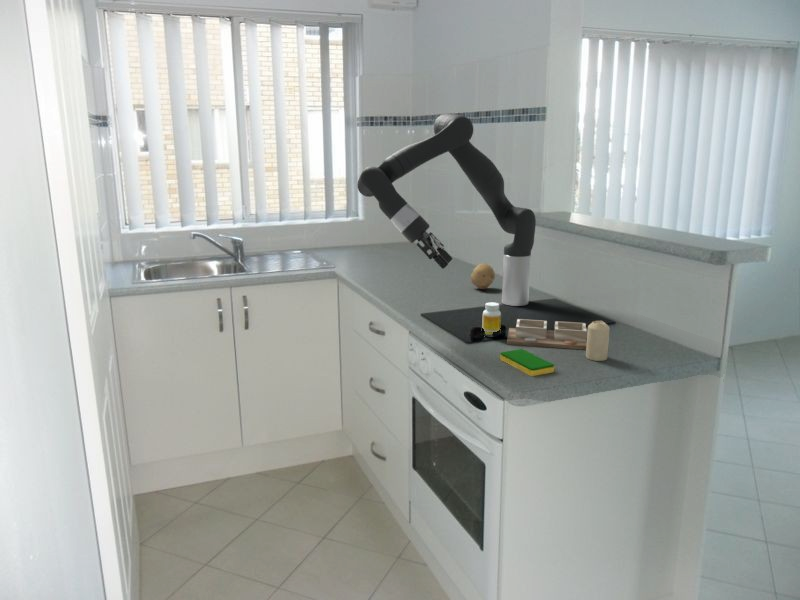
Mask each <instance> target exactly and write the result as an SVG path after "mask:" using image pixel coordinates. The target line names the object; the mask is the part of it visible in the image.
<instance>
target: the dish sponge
mask: <svg viewBox="0 0 800 600" xmlns="http://www.w3.org/2000/svg"><path fill="white" fill-rule="evenodd" d="M499 359H500V361H502V362H503V361H504V363H505V362H506V364H507V363H508V365H509V364H510V366H512V367H513V368H515V369H517V370H519V371H520V372H523V373H525V374H526V375H529V376H530V377H535V376H536V377H537V376H539V375H545V374H549V373H551V374H552V373H554V371H555V364H554V363H552V362H550V361H548V360H546V359H544V358H542V357H540V356H538V355H535V354H533V353H531V352H529V351H528V350H525V349H523V348H519V349H512V350H507V351H501V352H500V357H499Z"/></svg>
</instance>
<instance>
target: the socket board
mask: <svg viewBox="0 0 800 600" xmlns="http://www.w3.org/2000/svg"><path fill="white" fill-rule="evenodd" d="M586 325H587V324H586V322H574V321H558V320H555V321H554V330H547V326H548V321H547V320H542V319H540V320H539V319H525V318H517V319H516V326H515V328H514V327H509V328H508V332H507V339H506V345H514V346H529V347H542V348H557V349H558V348H559V349H569V350H570V349H571V350H572V349H573V350H585V351H586V346H587V333H588V329H587V326H586Z"/></svg>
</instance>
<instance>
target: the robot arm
mask: <svg viewBox="0 0 800 600" xmlns="http://www.w3.org/2000/svg"><path fill="white" fill-rule="evenodd" d="M433 133H434V135H432V136H430V137H427V138H426V139H422V140H421V141H417V142H414V143H411V144H409V145H406V146H404V147H402V148H400V149H398V150H397V151H395V152H394V153H393V154H391V155H389V156H387V157H386V158H385V159H384V160H383V161H382V162H381V163H380V164H379V165H378V166H370V165H369V166H367V167H365V168H364V169H363V170H362V172H361V174H360V176H359V178H358V180H357V190H358V192H359V194H360V195H362V196H364V197H369V198H371V197H374V199H376V201H377V202H378V207H379V209H380V210H381V212H382V213H383V214H384V215H385V217H387V218H388V219H389V220H390V222H391V224H393V225H394V227H395V228H396V229H397V230H398V231H399V232H400V234H402V235H403V236H404V237H405V238H406V240H408V242H409V243H410V244H413V243H415V242H416V241H417V243H416V246H417V247H418V248H419V249H420V250H421V251H422V252H423V253H424V255H426V256H427V258H428V259H429V260H433V261H434V262H435V263H437V265H438V266H439V267H440V268H441V269H445V268H446V267H447V266H449V264H450V262H451V261H452V260H453V256H451V254H450V253H448V251H446V249H445V246H444V244H443V243H442V242H441V241H440V240H439V239H438V238H437V237H436V236H435V235H434V234H433V232H430V231H429V233H428V232H427V230H428V229H429V228H430V227H431V226H430V224H429V222H427V221H426V220H425V218H423V217H422V215H420V213H419V212H418V211H417V210H416V209H415V208H414V207H413V206H412V205H411V204H409V203H408V202H407V201H406V200H405V198H403V197H402V196H401V194H399V192H398V191H397V190H396V187H395V186H394V185H393V183H394V182H395V181H397V180H399V179H401V178H403V177H404V176H406V175H407V174H409V173H410V172H412V171H414V170H415V169H416V168H418V167H420V166H422V165H424V164H426V163H428V162H429V161H431V160H433V159H435V158H437V157H438V156H441V155H443V154H447V153H449V154H450V155H451V156H452V158H453V159H454V160H455V161H456V162H457V164H458V166H459V167H460V169H461V171H463V173H464V174H465V176H466V177H467V178H468V180H469V181H470V183H471V184H472V186H473V187H474V188H475V190H476V191H477V193H479V194H480V196H481V197H482V199H483V201H485V202H484V203H486V204H487V206H488V208H489V209H490V210H491V212H492V213H493V216H494V217H495V220H496V221H497V223H498V225H499V226H500V227H501V229H502V230H503V231H504V232H505V233H506V234H509V235H510V234H511V235H514V236H513V241H512V243H509V244H506V245H504V247H503V261H502V262H503V263H502V265H503V266H502V286H501V288H502V289H501V303H502V304H503V305H506V306H513V307H519V306H520V307H521V306H527V305H528V304H529V296H530V295H529V294H530V280H531V279H530V278H531V259H532V257H531V256H532V250H533V247H534V243H535V234H536V223H537V222H536V220H537V219H536V215H535V212H534V211H533V210H532V209H530V208H527V207H526V208H525V207H519V206H518V207H517V206H515V205H514V204H512V203H511V202H510V200H509V198H507V196H506V194H505V181H504V180H505V179H504V177H503V174H501V172H500V171H499V169H498V168H497V167H496V165H495V163H494V162H493V161H492V160H491V159H490V158H489V157H488V156H487V155H486V154H484V153H483V152H482V151H481V150H479V149H478V148H477V147H475V145H473V144H472V143H471V142H470V141H471V139H472V137H473V134H474V125H473V123H472V121H471V120H470V118H468V117H466V116H465V115H461V114H453V113H443V114H440V115H439V116H438V117H436V119H435V121H434V123H433Z"/></svg>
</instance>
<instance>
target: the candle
mask: <svg viewBox="0 0 800 600" xmlns="http://www.w3.org/2000/svg"><path fill="white" fill-rule="evenodd" d="M610 329H611V328H610V326H609V325H608V324H607V323H606V322H604V321H603V320H594V321H592V322H590V324H588V326H587V346H586V350H585V358H586V359H588V360H590V361H596V362H603V361H604V362H605V361H606V360H607V359H608V354H609V344H610V343H609V342H610Z"/></svg>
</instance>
